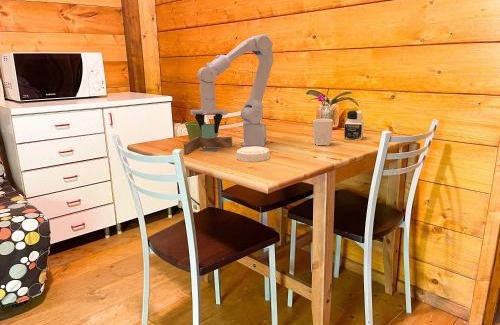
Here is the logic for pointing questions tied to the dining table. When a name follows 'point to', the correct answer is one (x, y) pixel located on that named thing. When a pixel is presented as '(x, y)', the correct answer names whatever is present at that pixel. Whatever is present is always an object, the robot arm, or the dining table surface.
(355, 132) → the medicine bottle
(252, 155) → the white flat cylinder
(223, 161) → the dining table surface
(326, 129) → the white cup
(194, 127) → the plant pot
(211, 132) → the cube
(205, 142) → the brown corner wall
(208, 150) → the mat
